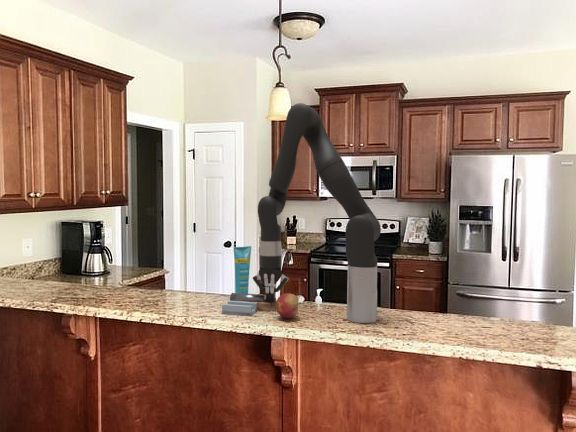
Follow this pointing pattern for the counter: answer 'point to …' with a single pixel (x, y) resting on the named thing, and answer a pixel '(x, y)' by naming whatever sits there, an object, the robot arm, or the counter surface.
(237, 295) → the grey cylinder
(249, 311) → the v block
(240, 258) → the tube
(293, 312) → the fruit
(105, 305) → the counter surface
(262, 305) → the brown flat wooden block
